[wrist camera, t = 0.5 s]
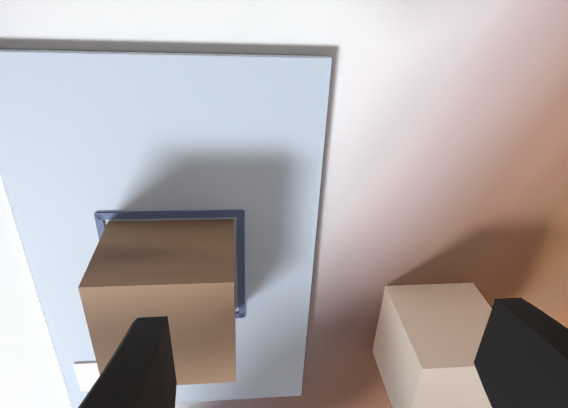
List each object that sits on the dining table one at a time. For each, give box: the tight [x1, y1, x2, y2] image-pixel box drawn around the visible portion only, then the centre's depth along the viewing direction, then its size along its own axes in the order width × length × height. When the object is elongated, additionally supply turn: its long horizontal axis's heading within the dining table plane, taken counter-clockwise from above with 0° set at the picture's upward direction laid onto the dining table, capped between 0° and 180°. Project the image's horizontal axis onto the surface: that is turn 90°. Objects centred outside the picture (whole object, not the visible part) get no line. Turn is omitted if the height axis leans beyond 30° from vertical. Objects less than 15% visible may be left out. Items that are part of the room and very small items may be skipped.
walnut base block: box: [78, 219, 236, 385], centre depth 18 cm, size 5×5×4 cm
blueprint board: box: [0, 49, 332, 408], centre depth 19 cm, size 18×12×1 cm, turn 178°
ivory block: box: [372, 283, 492, 408], centre depth 21 cm, size 4×4×5 cm
